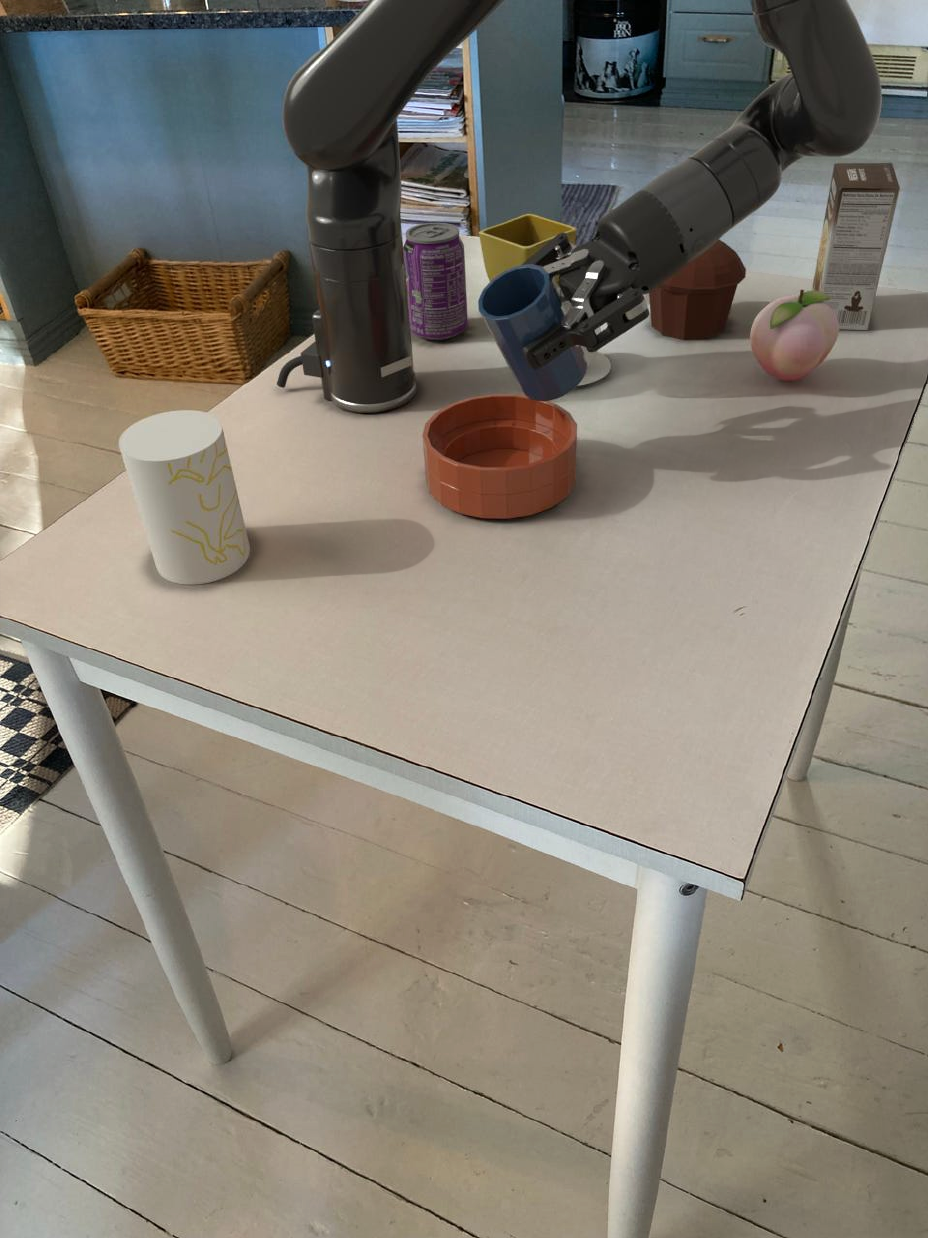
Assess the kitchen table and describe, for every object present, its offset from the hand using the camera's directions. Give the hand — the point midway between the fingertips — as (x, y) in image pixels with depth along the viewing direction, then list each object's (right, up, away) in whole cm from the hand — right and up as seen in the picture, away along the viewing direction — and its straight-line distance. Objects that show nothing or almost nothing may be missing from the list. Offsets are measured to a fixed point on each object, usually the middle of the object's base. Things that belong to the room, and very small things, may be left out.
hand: (509, 341), depth 87 cm
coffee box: (+41, +12, +33) cm, 54 cm away
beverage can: (-7, +11, +34) cm, 37 cm away
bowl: (0, -11, +7) cm, 13 cm away
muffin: (+23, +11, +33) cm, 41 cm away
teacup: (+7, +4, +25) cm, 26 cm away
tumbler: (+4, -2, +4) cm, 6 cm away
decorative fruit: (+30, +1, +21) cm, 37 cm away
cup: (-27, -19, +1) cm, 33 cm away
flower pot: (+4, +16, +40) cm, 44 cm away
